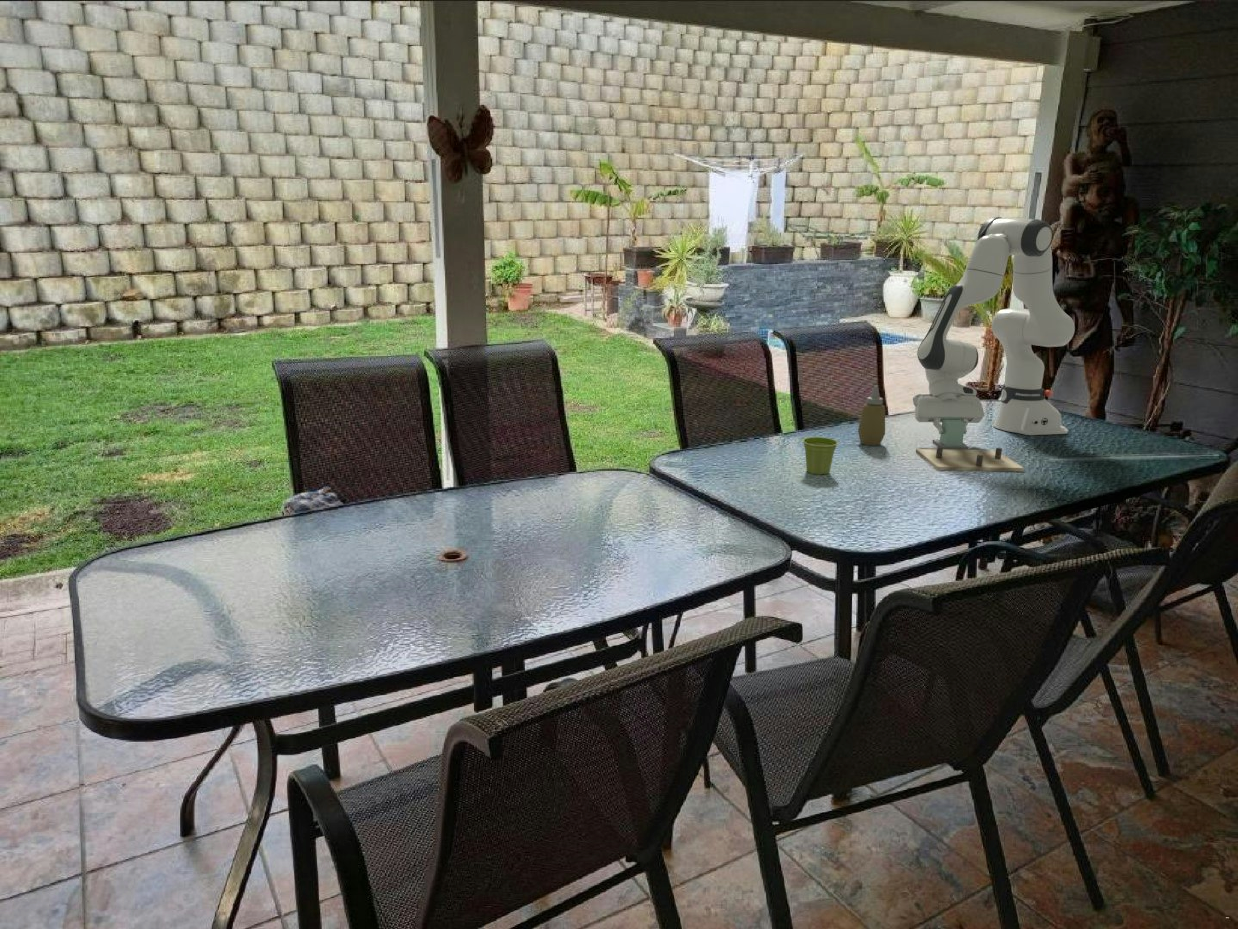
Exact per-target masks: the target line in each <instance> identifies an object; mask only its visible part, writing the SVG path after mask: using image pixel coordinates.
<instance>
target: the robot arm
mask: <svg viewBox="0 0 1238 929" xmlns="http://www.w3.org/2000/svg"><path fill="white" fill-rule="evenodd" d="M1052 229H1053V228H1052V226H1050V224H1049V223H1048V222H1046V221H1045V220H1041V219H1038V218H1036V219H1035V218H1034V219H1032V218H1029V217H1028V218H1027V217H1019V216H1018V217H1017V216H1015V217H1001V216H997V217H992V218H988V219H987V220H986V221H984V223H982V225H981V226H980V228H979V230H978V232H977V233H978V234H977V242H976V243H975V245H974V247H973V249H972V251H971V253H970V256H969V258H968V261H967V263H966V266H965V270H964V273H963V275H962V276H961V278H960V280H959V281H958V282H957V283H956V284H953V285H952V286H951V287H950V288H949V289H948V290H947V292H946V294H945V295H944V298H943V299H942V302H941V303H940V306H939V308H938V310H937V312H936V314H935V317H934V318H933V320H932V323H931V325H930V328H928V331H927V334H926V335H925V336H924V338H923V339H922V341H921V343H920V344H919V345H918V348H917V351H916V352H917V353H916V355H917V359H918V361H919V363H920V365H921V366H922V367H923V368H924V371H925V377H926V380H927V382H928V391H929V392H928V394H927V393H926V394H922V393H917V394H916V395H914V396H913V397H912V402H913V405H914V417H915V420H916V421H917V422H918V423H932V424H933V426H934V427H935V428H936V429H937V431H938V434H939V435H941V434H944V433H945V432H946V430H945V427H943V426H942V419H959V420H961V421H962V422H964V423H965V428H964V435H966V434H967V433H968V432H967V431H968V430H967V426H968V424H979V423H980V422H981V421H982V420H983V418H984V416H985V412H984V408H983V404H982V402H981V400H980V398H979V397H977V394H978V392H977V390H976V389H975V388H972V387H969V386H965V385H963V384H960V383H959V381H958V380H959V379H962V378H964V377H965V376H968V375H969V374H970V373H972V371H974V370H975V369H976V368H977V366H978V364H979V351H978V348H977V347H976V346H975V345H974V344H971V343H968V342H963V341H958V340H953V339H948V338H947V335H948V334H949V331H950V330H951V326H952V325H953V322H954V320H955V319H956V316H957V315H958V313H959V312H960V310H962V309H964V308H965V307H969V306H973V305H976V304H977V305H978V304H982V303H986V302H987V301H989V300H991V299H992V298H994V297H996V296H997V294H998V293H999V291H1000V288H1001V286H1002V284H1003V281H1004V277H1005V275H1006V270H1007V265H1008V260H1009V258H1010V256H1013V263H1012V291H1013V292H1012V293H1013V295H1014V296H1015V298H1017V300H1019V301H1020V302H1021V303H1023V304H1024V305H1025V307H1026V308H1019V307H1012V308H1003V309H1000V310H999V311H997V312H996V314H994V316H993V318H992V320H991V332H992V334H993V335H994V337H996V339H997V340H998V341H999V342H1000V344H1001V346H1002V348H1003V350H1004V353H1005V357H1006V369H1005V370H1006V371H1005V380H1004V384H1003V385H1002V389H1001V393H1000V394H1001V395H1000V396H1001V397H1000V406H999V410H998V413H997V416H996V419H995V421H994V422H993V424H992V425H993V427H994V428H996V429H998V430H1001V431H1006V432H1011V433H1016V434H1021V435H1025V436H1040V435H1041V436H1043V435H1065V434H1069V433H1068V432H1069V430H1068V429H1067V427H1065V426H1064V425H1062V414H1061V413H1060V412H1059V410H1058V409H1057V408H1056V407H1054V405H1052V404H1051V403H1050V402H1049V401H1048V400H1047V399H1046V397H1047V398H1051V397H1052V395H1053V391H1052V390H1049V389H1044V388H1043V387H1042V386H1043V379H1044V373H1045V364H1044V361H1043V360H1042V359H1041V358H1039V357H1038V356H1037V355H1036V354H1035V353H1034V351H1033V349H1032V345H1033V346H1038V347H1039V346H1040V347H1045V348H1054V347H1056V348H1057V347H1064V346H1066V345H1068V344H1069V342H1070V341H1071V340H1072V339H1073V337H1074V334H1075V332H1076V331H1075V330H1076V327H1075V322H1074V320H1073V319H1072V317H1071V316H1070V315H1068V314H1067V313H1066V312H1065V311H1064V309H1063V308H1062V307H1061V306H1060V305H1059V303H1058V300H1057V299H1056V297H1055V293H1054V288H1053V255H1052V254H1053V252H1052V246H1051V245H1052V241H1053V236H1054V235H1053V230H1052Z"/></svg>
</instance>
